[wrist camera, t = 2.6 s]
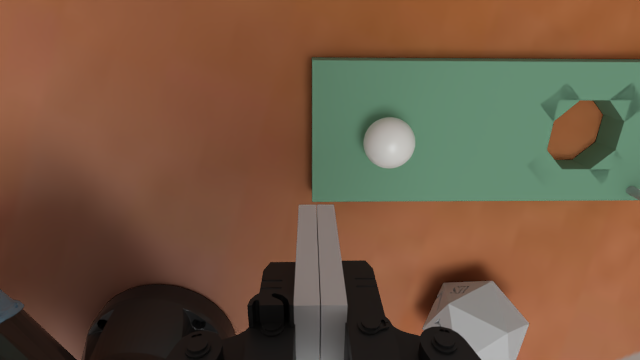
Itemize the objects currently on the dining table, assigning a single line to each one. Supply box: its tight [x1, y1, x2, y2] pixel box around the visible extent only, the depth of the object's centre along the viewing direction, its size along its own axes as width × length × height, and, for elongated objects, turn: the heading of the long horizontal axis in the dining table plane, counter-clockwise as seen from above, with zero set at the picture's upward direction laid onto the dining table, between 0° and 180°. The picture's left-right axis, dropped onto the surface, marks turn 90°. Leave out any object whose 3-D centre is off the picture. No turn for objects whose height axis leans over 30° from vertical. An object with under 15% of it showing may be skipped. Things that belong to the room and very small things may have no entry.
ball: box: [363, 117, 415, 169], centre depth 30 cm, size 4×4×4 cm
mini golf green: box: [312, 57, 640, 202], centre depth 28 cm, size 30×12×14 cm, turn 89°
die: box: [422, 281, 529, 360], centre depth 38 cm, size 8×9×10 cm
